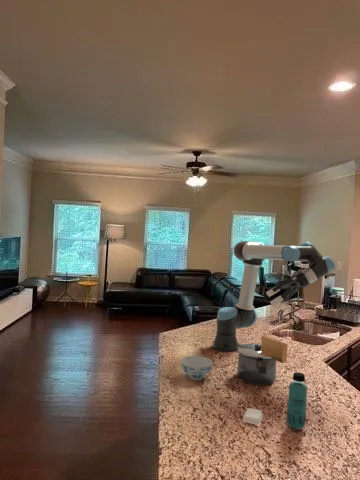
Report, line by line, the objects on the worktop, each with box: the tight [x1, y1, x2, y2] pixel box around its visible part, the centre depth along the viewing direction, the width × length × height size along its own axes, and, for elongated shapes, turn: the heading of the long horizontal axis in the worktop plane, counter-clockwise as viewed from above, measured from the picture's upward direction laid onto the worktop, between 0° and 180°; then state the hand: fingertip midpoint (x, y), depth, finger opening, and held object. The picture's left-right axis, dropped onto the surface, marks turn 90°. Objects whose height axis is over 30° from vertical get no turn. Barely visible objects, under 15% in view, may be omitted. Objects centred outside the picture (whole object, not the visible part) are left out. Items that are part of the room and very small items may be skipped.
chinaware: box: [180, 355, 213, 381], centre depth 181 cm, size 15×15×8 cm
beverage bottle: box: [286, 372, 308, 430], centre depth 137 cm, size 6×7×20 cm
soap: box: [242, 407, 264, 426], centre depth 143 cm, size 9×7×3 cm
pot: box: [237, 352, 278, 386], centre depth 181 cm, size 32×18×12 cm, turn 175°
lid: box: [237, 334, 288, 364], centre depth 179 cm, size 28×19×9 cm, turn 25°
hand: (269, 299), depth 194 cm, fingers open, 13 cm apart
